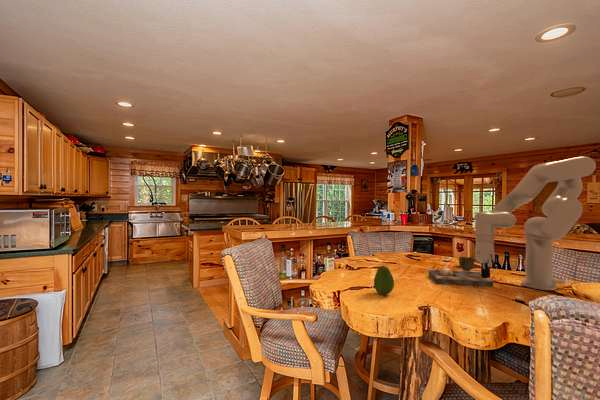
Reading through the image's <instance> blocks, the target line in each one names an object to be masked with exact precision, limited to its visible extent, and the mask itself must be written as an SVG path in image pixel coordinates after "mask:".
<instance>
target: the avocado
mask: <svg viewBox="0 0 600 400" xmlns="http://www.w3.org/2000/svg"><path fill="white" fill-rule="evenodd" d="M376 270H377V271H376V273H375V276H374V279H373V286H374V289H375V291H376V292H377V293H378V295H381V296H386V295H389V294H391V292H392V291H393V289H394V288H395V287H394V286H395V280H394V277H393V275H392V273H391V271H390V269H389V268H388V267H387V266H385V265H381V266H379V267H378V268H377V269H376Z"/></svg>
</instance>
